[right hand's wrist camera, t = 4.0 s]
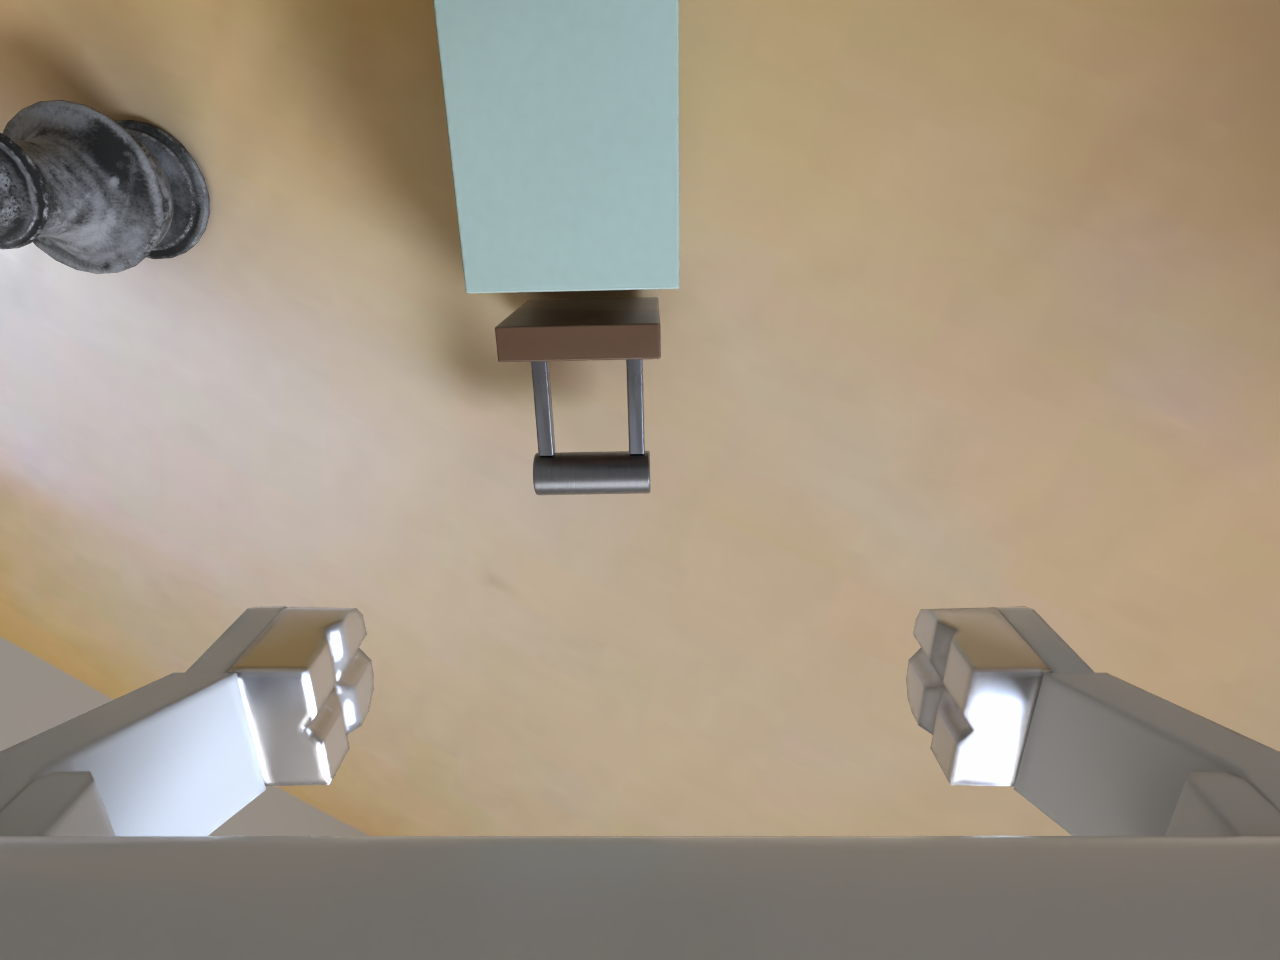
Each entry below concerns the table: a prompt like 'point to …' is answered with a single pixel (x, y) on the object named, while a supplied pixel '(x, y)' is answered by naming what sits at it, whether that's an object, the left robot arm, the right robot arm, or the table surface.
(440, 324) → the table surface
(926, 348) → the table surface
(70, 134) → the salt shaker
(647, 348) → the drawer
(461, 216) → the cabinet
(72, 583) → the table surface
